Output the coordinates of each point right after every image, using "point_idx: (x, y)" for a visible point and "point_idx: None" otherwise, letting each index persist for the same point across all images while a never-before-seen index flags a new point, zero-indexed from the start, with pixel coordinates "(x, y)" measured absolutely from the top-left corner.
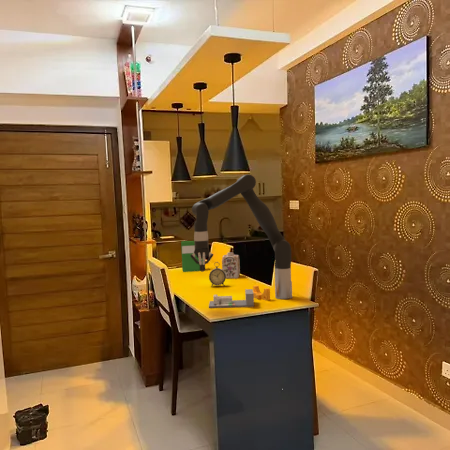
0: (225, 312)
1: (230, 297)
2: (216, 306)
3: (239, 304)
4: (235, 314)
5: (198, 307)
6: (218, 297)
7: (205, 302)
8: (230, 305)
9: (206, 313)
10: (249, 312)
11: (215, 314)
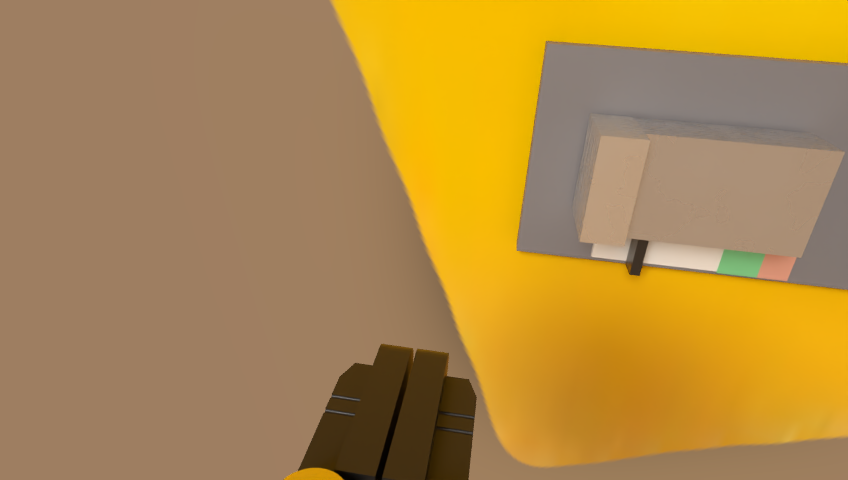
0: (640, 387)
1: (793, 225)
2: (590, 256)
3: (844, 257)
4: (705, 448)
5: (420, 195)
6: (646, 191)
7: (495, 2)
8: (735, 271)
9: (486, 374)
10: (839, 433)
11: (553, 412)
